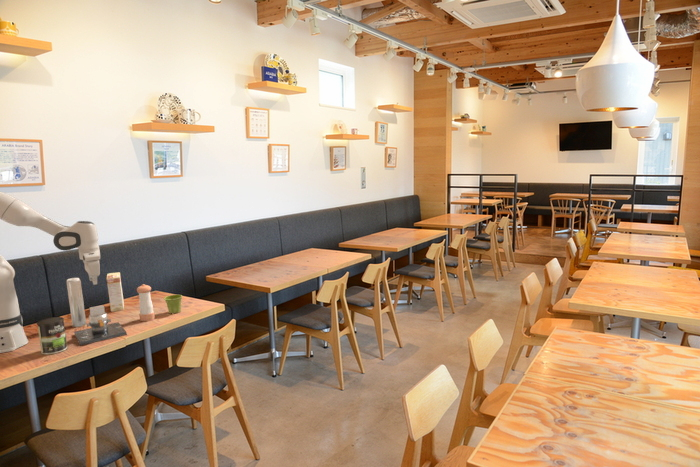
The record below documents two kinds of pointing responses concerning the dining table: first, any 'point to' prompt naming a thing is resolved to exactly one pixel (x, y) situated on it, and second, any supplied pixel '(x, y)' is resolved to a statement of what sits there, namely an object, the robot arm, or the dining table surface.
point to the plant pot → (173, 303)
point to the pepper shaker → (145, 303)
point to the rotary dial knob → (98, 316)
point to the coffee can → (52, 335)
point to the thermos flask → (76, 302)
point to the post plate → (99, 333)
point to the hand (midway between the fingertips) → (93, 282)
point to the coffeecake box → (115, 291)
